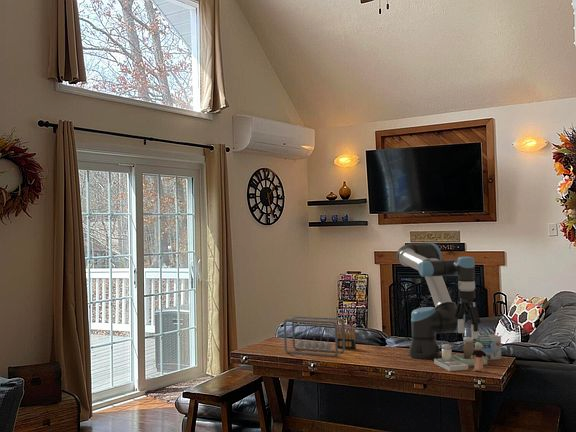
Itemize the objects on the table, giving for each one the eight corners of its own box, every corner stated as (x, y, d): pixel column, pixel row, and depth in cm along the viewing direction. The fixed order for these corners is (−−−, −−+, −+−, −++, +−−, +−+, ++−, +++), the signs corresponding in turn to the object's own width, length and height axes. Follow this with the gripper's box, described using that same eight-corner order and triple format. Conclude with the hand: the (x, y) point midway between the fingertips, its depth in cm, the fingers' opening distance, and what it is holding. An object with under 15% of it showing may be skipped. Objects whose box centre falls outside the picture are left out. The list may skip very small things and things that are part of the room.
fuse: (440, 363, 294) (439, 344, 294) (449, 363, 295) (448, 343, 295) (444, 366, 290) (444, 346, 290) (453, 365, 290) (453, 345, 290)
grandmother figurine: (469, 371, 278) (468, 342, 278) (471, 369, 281) (470, 340, 282) (487, 372, 274) (486, 343, 274) (489, 370, 278) (488, 342, 278)
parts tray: (451, 361, 299) (451, 354, 299) (474, 359, 301) (474, 352, 301) (463, 366, 287) (462, 359, 287) (487, 364, 290) (487, 358, 290)
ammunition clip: (336, 348, 338) (335, 325, 338) (337, 347, 340) (336, 325, 340) (354, 349, 333) (354, 326, 333) (356, 348, 335) (355, 325, 335)
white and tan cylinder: (471, 360, 297) (470, 336, 297) (475, 362, 293) (474, 338, 293) (462, 360, 296) (461, 337, 296) (466, 362, 292) (466, 339, 292)
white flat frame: (434, 363, 295) (434, 357, 295) (452, 362, 297) (452, 356, 297) (449, 371, 279) (449, 365, 279) (468, 369, 281) (468, 363, 281)
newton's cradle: (284, 353, 329) (283, 319, 329) (293, 349, 338) (292, 316, 338) (337, 357, 315) (336, 321, 315) (345, 353, 324) (344, 318, 324)
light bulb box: (481, 360, 298) (481, 337, 298) (474, 357, 305) (473, 335, 305) (502, 358, 301) (501, 336, 301) (494, 356, 307) (493, 333, 307)
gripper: (447, 287, 306) (448, 331, 306) (472, 293, 282) (473, 341, 282) (461, 286, 308) (462, 330, 308) (487, 292, 283) (488, 340, 283)
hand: (467, 335), depth 295 cm, fingers open, 13 cm apart
